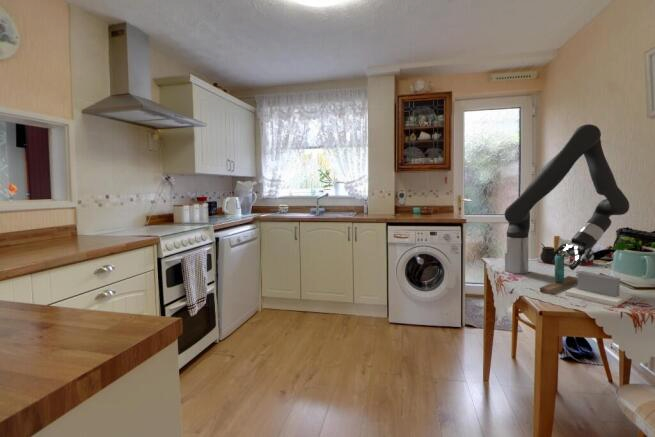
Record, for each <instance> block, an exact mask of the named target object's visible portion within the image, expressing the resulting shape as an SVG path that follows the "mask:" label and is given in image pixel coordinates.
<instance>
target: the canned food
mask: <svg viewBox="0 0 655 437" xmlns="http://www.w3.org/2000/svg"><path fill="white" fill-rule="evenodd" d="M594 258H595V255H594V254H593V255H592V257H591V258H590V259H589V261H588V262H587V263H581V264H579V265H578V266H579V267H581V266H582V267H590V266H594ZM585 259H586V257H585ZM573 260H575V257H574V256H569V262H568V263H569V265H570V264H571V263H572V262H573Z"/></svg>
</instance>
